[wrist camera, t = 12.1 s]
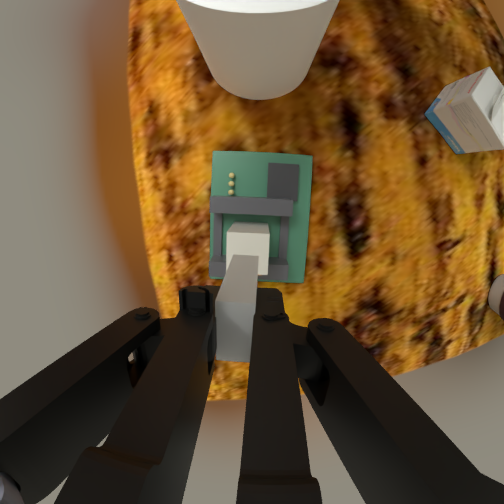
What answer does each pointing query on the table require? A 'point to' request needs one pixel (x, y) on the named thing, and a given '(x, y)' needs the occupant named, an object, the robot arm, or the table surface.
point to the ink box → (471, 113)
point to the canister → (258, 41)
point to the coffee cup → (497, 296)
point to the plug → (249, 243)
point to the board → (257, 187)
